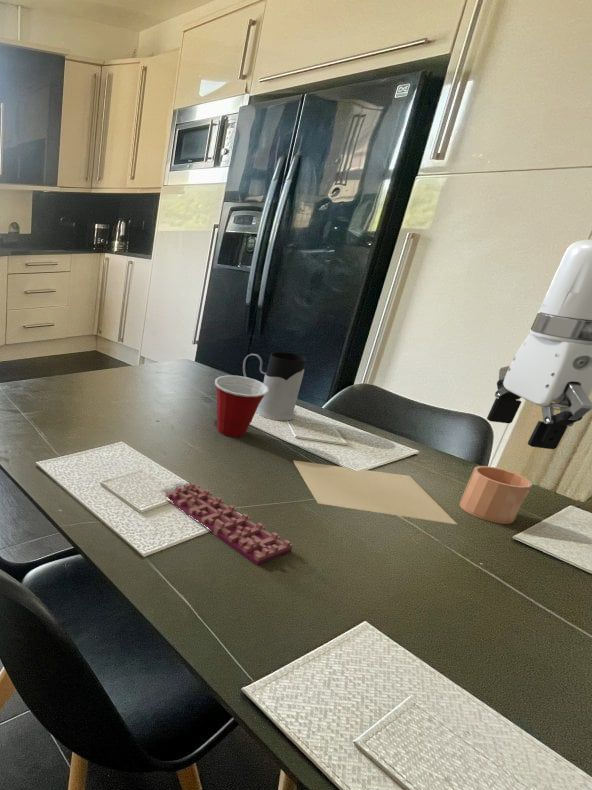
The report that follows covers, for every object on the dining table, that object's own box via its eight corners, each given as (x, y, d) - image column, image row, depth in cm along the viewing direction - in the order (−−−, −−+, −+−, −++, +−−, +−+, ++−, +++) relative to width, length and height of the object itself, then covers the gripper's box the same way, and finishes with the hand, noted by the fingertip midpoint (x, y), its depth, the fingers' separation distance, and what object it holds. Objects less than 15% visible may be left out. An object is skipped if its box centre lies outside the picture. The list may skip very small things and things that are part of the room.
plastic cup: (209, 439, 107) (219, 389, 103) (202, 420, 117) (211, 373, 112) (263, 445, 105) (275, 394, 100) (250, 425, 115) (261, 377, 110)
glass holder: (285, 423, 116) (300, 363, 110) (227, 405, 126) (238, 350, 120) (300, 415, 121) (315, 357, 115) (243, 398, 131) (254, 344, 126)
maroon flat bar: (193, 488, 88) (195, 479, 87) (290, 552, 72) (293, 541, 71) (162, 497, 85) (164, 487, 85) (256, 565, 69) (259, 554, 69)
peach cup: (497, 504, 85) (514, 469, 82) (524, 527, 79) (543, 490, 76) (450, 498, 86) (465, 463, 84) (473, 519, 80) (490, 483, 78)
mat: (408, 476, 93) (409, 475, 93) (471, 539, 75) (472, 538, 75) (292, 461, 98) (293, 460, 98) (325, 516, 81) (326, 515, 80)
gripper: (659, 346, 62) (593, 463, 69) (556, 318, 78) (510, 416, 84) (585, 340, 64) (527, 454, 70) (499, 314, 79) (458, 410, 86)
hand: (518, 433), depth 77 cm, fingers open, 9 cm apart
